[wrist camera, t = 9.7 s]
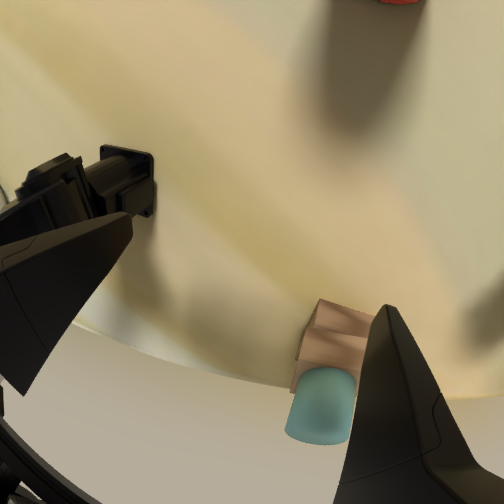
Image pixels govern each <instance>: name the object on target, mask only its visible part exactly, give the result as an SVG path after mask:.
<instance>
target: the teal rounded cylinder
mask: <svg viewBox="0 0 504 504" xmlns="http://www.w3.org/2000/svg"><path fill="white" fill-rule="evenodd" d="M356 386H357V383H356V380H355V378H354V377H353V376H352V375H350V374H349V373H347V372H345V371H342V370H339V369H335V368H328V367H320V368H313V369H310V370H307V371H305V372H304V373H302V374H301V376H300V378H299V382H298V386H297V389H296V393H295V396H294V400H293V403H292V407H291V410H290V413H289V417H288V420H287V423H286V427H285V432H286V433H287V434H288V435H289V436H290V437H292V438H294V439H296V440H299V441H302V442H305V443H310V444H316V445H335V444H340V443H343V442H345V441H346V440H347V439H348V437H349V432H350V427H351V421H352V414H353V407H354V401H355V394H356Z"/></svg>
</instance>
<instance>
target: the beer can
mask: <svg viewBox="0 0 504 504" xmlns="http://www.w3.org/2000/svg"><path fill="white" fill-rule="evenodd" d="M379 1H382V2H385V3H393V4H408V3H415V2H417V1H419V0H379Z"/></svg>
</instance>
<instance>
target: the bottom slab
mask: <svg viewBox="0 0 504 504" xmlns="http://www.w3.org/2000/svg"><path fill="white" fill-rule="evenodd" d="M374 318H375V316H371V315H368V314H365V313H362V312H359V311H356V310H353V309H350V308H347V307H344V306H341V305H338V304H335V303H332V302H329V301H326V300H323V299H320V300H319V302H318V304H317V306H316V308H315V310H314V312H313V314H312V317H311V319H310V321H309V323H308V325H307V327H311V328H316V329H321V330H326V331H330V332H335V333H341V334H346V335H351V336H356V337H362V338H367V339H368V335H369V330H370V326H371V323H372V321H373V319H374ZM307 327H306V328H307ZM305 332H306V329H305V331H304V333H303V335H302V337H301V341H300V344H299V348H298V351H297V355H296V358H295V360H297V361H298V358H299V354H300V351H301V347H302V343H303V339H304V336H305Z"/></svg>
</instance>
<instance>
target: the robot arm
mask: <svg viewBox="0 0 504 504" xmlns="http://www.w3.org/2000/svg"><path fill="white" fill-rule="evenodd" d="M104 149H105V150H104ZM146 157H147V158H148V160H147V159H146ZM82 162H83V161H82V158H81V156H79V157H76V158H73V157H70V156H69V155H68V154H67V153H64V154H62V155H60V156H58V157H56V158H54V159H51V160H49V161H47V162H45V163H43V164H42V165H40V166H38V167H36V168H34V169H32V170H30V171H29V172H28V175H27V177H26V180H25V181H24V182H23V183H21V184H22V186H20V187H19V188H17V189H16V190H15V193H16V196H17V198H16V199H15V200H13V201H12V202H10V203H8V204H7V205H5V206H4V207H2V208H1V209H0V383H1V382H2V380H3V379H4V378H5V379H6V380H7V381H8V382H9V383H10V384H11V385H12V386H13V387H14V388H15V389H16V390H17V391H18V392H19V393H20V394H21V395H22V396H25V394H26V393H27V391H28V389H29V388H30V386H31V384H32V382H33V381H34V379H35V377H36V376H37V374H38V372H39V371H40V369H41V368H42V366H43V364H44V363H45V361H46V359H47V358H48V356H49V355H50V353H51V352H52V350H53V349H54V347H55V346H56V344H57V342H58V341H59V340H60V338H61V336H62V335H63V334H64V332H65V330H66V329H67V328H68V326H69V325H70V324H71V322H72V321H73V319H74V318H75V317H76V315H77V314H78V312H79V311H80V310H81V308H82V307H83V306H84V304H85V303H86V302H87V300H88V299H89V298H90V296H91V295H92V294H93V292H94V291H95V290H96V288H97V287H98V286H99V285H100V283H101V282H102V281H103V279H104V278H105V277H106V276H107V274H108V273H109V272H110V270H111V269H112V268H113V266H114V265H115V263H116V262H117V260H118V259H119V257H120V256H121V254H122V253H123V251H124V250H125V248H126V247H127V245H128V244H129V242H130V241H131V239H132V237H133V226H132V218H133V217H134V216H135V215H137V214H138V215H141V216H144V217H147V218H148V217H150V216H151V215H152V213H153V206H152V202H153V178H152V177H153V157H152V155H151V154H150V153H147V152H142V151H137V150H132V149H127V148H122V147H117V146H112V145H106V144H104V145H102V146H101V147H100V161H99V162H97V163H95V164H93V165H91V166H89V167H87V168H85V169H84V168H83V165H82ZM147 212H148V213H147ZM3 402H4V401H3V387H2V386H1V385H0V504H102V503H100V502H99V501H97V500H96V499H94V498H93V497H91V496H90V495H88V494H87V493H85V492H84V491H83V490H81V489H79V488H78V487H77V486H76V485H74V484H73V483H72V482H70V481H69V480H68V479H66V478H65V477H64V476H63V475H61V474H60V473H59V472H58V471H57V470H55V469H54V468H53V467H52V466H51V465H49V464H48V463H47V462H46V461H45V460H44V459H43V458H41V457H40V456H39V455H38V454H37V453H36V452H35V451H34V450H33V449H32V448H31V447H30V446H29V445H28V444H27V443H26V442H24V440H23V439H22V438H21V437H19V435H18V434H17V433H16V432H15V431H14V430H13V429H12V428H11V427H10V426H9V425H8V423H6V421H5V420H4V419H3V416H4V403H3ZM21 481H22V482H23V483H24V484H25V485H26V486H28V487H29V488H30V489H31V490H32V491H33V492H34V493H35V494H36V495H37V496H38V497H40V498H41V499H42V500H38V499H37V498H36V497H35V496H34V495H33V494H32V493H31V492H30V491H28V490H27V489H25V488H24V487H22V486H21V485H19V483H20V482H21ZM333 504H504V479H502V478H500V477H499V476H496V475H495V474H493V473H491V472H489V471H487V470H485V469H484V468H482V467H481V466H480V465H479V464H478V463H477V462H476V460H475V459H474V457H473V455H472V453H471V451H470V449H469V447H468V445H467V443H466V441H465V439H464V437H463V435H462V433H461V431H460V430H459V428H458V426H457V424H456V422H455V420H454V418H453V416H452V414H451V412H450V410H449V407H448V405H447V403H446V401H445V399H444V397H443V395H442V393H441V392H440V388H439V386H438V384H437V382H436V380H435V378H434V376H433V374H432V372H431V370H430V368H429V366H428V364H427V362H426V360H425V358H424V356H423V354H422V353H421V351H420V349H419V347H418V345H417V343H416V341H415V340H414V338H413V336H412V334H411V332H410V331H409V329H408V327H407V325H406V323H405V322H404V320H403V318H402V317H401V315H400V313H399V311H398V310H397V308H396V307H394V306H391V305H388V304H384V305H383V306H382V307H381V309H380V310H379V312H378V313H377V315H376V316H375V318H374V319H373V321H372V323H371V326H370V330H369V335H368V340H367V345H366V349H365V354H364V358H363V363H362V368H361V374H360V382H359V389H358V396H357V402H356V408H355V414H354V419H353V425H352V430H351V435H350V440H349V444H348V449H347V453H346V458H345V462H344V466H343V470H342V474H341V478H340V481H339V485H338V488H337V492H336V495H335V498H334V501H333Z"/></svg>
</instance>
